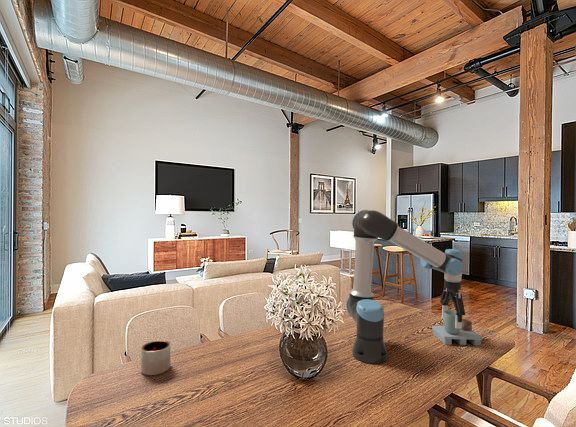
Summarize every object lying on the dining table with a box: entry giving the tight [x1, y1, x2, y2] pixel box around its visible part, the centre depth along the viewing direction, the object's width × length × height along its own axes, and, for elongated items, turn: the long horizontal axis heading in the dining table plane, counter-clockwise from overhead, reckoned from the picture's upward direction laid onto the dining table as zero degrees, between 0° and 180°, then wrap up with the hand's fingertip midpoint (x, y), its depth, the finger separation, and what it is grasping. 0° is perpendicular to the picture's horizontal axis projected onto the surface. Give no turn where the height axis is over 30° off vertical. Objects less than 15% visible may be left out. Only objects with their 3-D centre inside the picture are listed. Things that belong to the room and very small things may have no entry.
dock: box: [431, 325, 483, 346], centre depth 157 cm, size 18×14×4 cm
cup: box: [442, 309, 460, 334], centre depth 155 cm, size 8×8×10 cm
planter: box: [140, 339, 171, 377], centre depth 125 cm, size 11×11×10 cm
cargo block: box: [461, 318, 473, 331], centre depth 160 cm, size 4×4×4 cm
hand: (451, 323), depth 155 cm, fingers open, 13 cm apart
